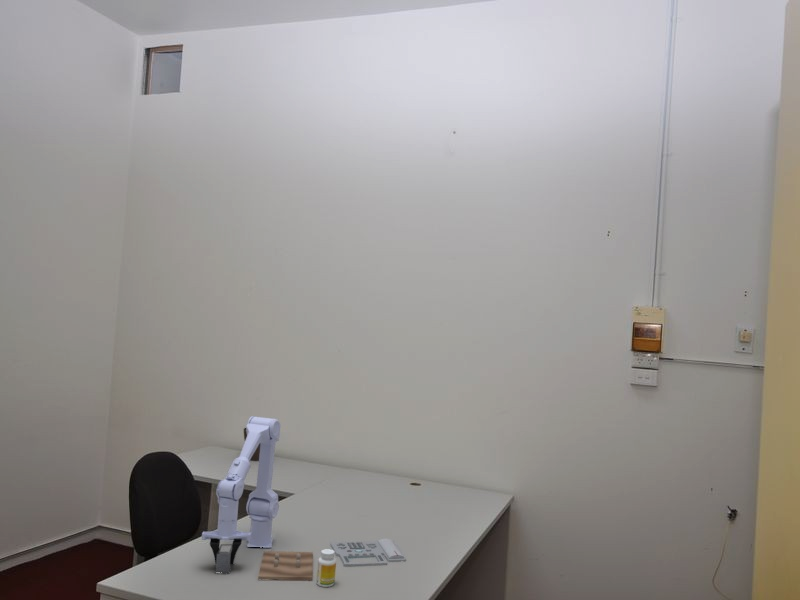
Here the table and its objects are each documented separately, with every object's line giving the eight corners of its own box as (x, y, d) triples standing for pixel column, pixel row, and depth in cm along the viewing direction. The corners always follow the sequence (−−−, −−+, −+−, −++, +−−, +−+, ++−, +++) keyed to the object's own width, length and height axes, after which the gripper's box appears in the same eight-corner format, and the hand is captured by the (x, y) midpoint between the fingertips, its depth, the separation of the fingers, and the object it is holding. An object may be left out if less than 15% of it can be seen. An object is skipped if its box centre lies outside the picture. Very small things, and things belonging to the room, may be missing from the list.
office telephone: (394, 536, 227) (410, 558, 208) (393, 543, 227) (410, 566, 208) (330, 538, 220) (341, 560, 201) (329, 545, 220) (340, 568, 201)
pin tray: (263, 554, 208) (264, 545, 208) (312, 554, 210) (313, 545, 210) (258, 579, 188) (258, 569, 188) (312, 580, 190) (312, 570, 190)
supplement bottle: (312, 582, 188) (315, 550, 188) (326, 578, 192) (328, 546, 192) (324, 589, 184) (326, 556, 185) (338, 584, 188) (340, 552, 189)
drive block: (219, 563, 198) (220, 543, 198) (232, 563, 198) (234, 544, 199) (215, 573, 190) (216, 553, 190) (229, 574, 190) (230, 553, 191)
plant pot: (235, 460, 331) (238, 429, 331) (251, 454, 345) (253, 425, 345) (260, 464, 326) (262, 433, 326) (275, 458, 340) (277, 428, 341)
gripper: (201, 522, 190) (197, 568, 189) (250, 523, 192) (247, 568, 191) (205, 515, 197) (202, 558, 196) (252, 516, 199) (249, 559, 198)
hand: (224, 563), depth 194 cm, fingers closed on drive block, 4 cm apart
